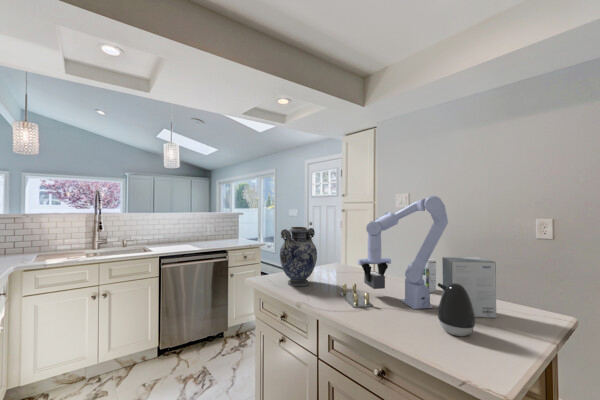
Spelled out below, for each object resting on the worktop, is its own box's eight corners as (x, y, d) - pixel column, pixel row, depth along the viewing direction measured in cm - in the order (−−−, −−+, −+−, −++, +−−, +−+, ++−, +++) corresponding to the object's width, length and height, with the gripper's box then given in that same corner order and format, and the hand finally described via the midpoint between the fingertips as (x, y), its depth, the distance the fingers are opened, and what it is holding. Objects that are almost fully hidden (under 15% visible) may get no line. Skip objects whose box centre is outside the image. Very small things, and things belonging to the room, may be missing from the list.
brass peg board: (373, 306, 105) (373, 294, 105) (353, 308, 104) (353, 296, 104) (356, 293, 121) (356, 282, 121) (339, 294, 119) (339, 283, 119)
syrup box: (417, 289, 127) (417, 258, 127) (426, 287, 130) (426, 257, 130) (427, 293, 122) (427, 260, 122) (436, 291, 124) (436, 259, 124)
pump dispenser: (441, 321, 92) (441, 277, 92) (477, 331, 86) (477, 283, 86) (433, 332, 84) (433, 283, 84) (472, 344, 78) (472, 291, 78)
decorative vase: (302, 275, 149) (303, 224, 149) (326, 284, 135) (327, 227, 135) (269, 282, 136) (270, 227, 135) (292, 293, 121) (293, 230, 121)
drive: (384, 288, 112) (385, 276, 112) (373, 289, 111) (373, 276, 111) (374, 282, 121) (374, 270, 121) (364, 282, 120) (364, 271, 120)
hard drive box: (484, 310, 103) (484, 257, 103) (497, 318, 95) (497, 261, 95) (441, 308, 104) (442, 256, 105) (451, 316, 97) (451, 260, 97)
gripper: (385, 247, 122) (385, 277, 121) (354, 248, 119) (354, 279, 119) (393, 249, 115) (393, 281, 115) (361, 250, 112) (361, 283, 112)
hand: (374, 280), depth 116 cm, fingers closed on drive, 5 cm apart
